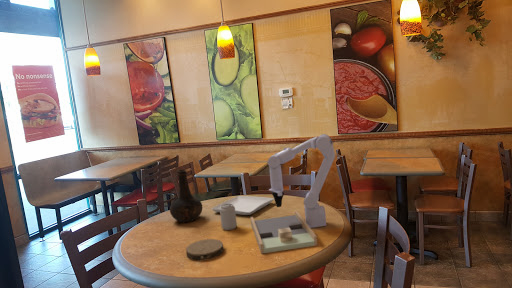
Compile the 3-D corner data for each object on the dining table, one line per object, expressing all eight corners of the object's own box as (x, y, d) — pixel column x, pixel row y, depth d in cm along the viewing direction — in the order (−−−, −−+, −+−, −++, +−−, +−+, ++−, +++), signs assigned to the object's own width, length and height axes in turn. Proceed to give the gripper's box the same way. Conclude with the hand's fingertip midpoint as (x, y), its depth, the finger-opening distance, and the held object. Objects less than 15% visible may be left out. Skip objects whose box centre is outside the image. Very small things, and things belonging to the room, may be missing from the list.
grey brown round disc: (188, 247, 173) (187, 241, 173) (223, 243, 174) (223, 237, 174) (184, 263, 158) (184, 256, 157) (223, 258, 159) (222, 251, 158)
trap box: (297, 218, 197) (296, 210, 196) (317, 245, 161) (316, 236, 161) (251, 224, 194) (250, 217, 193) (261, 253, 159) (260, 244, 158)
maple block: (289, 236, 169) (289, 227, 168) (292, 240, 164) (291, 231, 163) (278, 237, 168) (277, 229, 168) (280, 242, 163) (280, 233, 163)
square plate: (275, 203, 228) (275, 197, 227) (250, 218, 205) (249, 211, 204) (238, 200, 242) (237, 194, 242) (210, 214, 219) (210, 207, 219)
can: (234, 230, 188) (232, 207, 187) (220, 230, 190) (217, 207, 188) (238, 225, 196) (236, 202, 194) (224, 225, 197) (221, 202, 196)
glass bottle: (185, 213, 225) (179, 166, 221) (210, 215, 216) (204, 166, 213) (164, 223, 210) (157, 173, 206) (190, 226, 201) (183, 174, 197)
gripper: (265, 177, 193) (268, 203, 195) (270, 184, 179) (273, 212, 181) (279, 175, 194) (282, 201, 196) (285, 182, 180) (288, 210, 182)
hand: (278, 206), depth 188 cm, fingers closed
